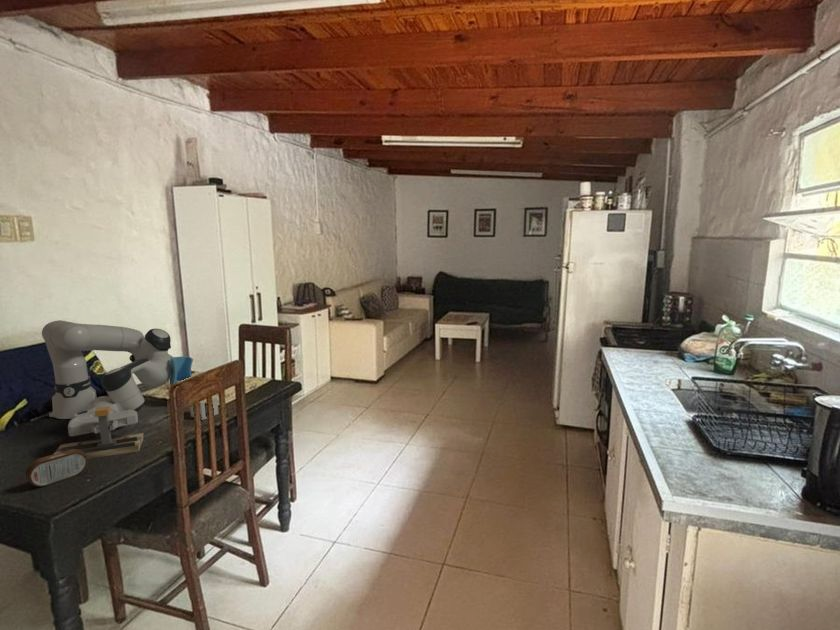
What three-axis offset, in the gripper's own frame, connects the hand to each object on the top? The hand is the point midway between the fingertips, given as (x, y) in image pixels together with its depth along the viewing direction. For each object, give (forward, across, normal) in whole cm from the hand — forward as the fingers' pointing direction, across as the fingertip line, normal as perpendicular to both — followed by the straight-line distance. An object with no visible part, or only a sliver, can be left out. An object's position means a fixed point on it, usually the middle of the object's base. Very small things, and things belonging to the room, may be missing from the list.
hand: (104, 429), depth 159 cm
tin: (+12, +13, -9) cm, 20 cm away
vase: (-40, -29, -8) cm, 50 cm away
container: (-18, -34, -9) cm, 40 cm away
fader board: (-5, +2, -9) cm, 10 cm away
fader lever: (-1, 0, -7) cm, 7 cm away
